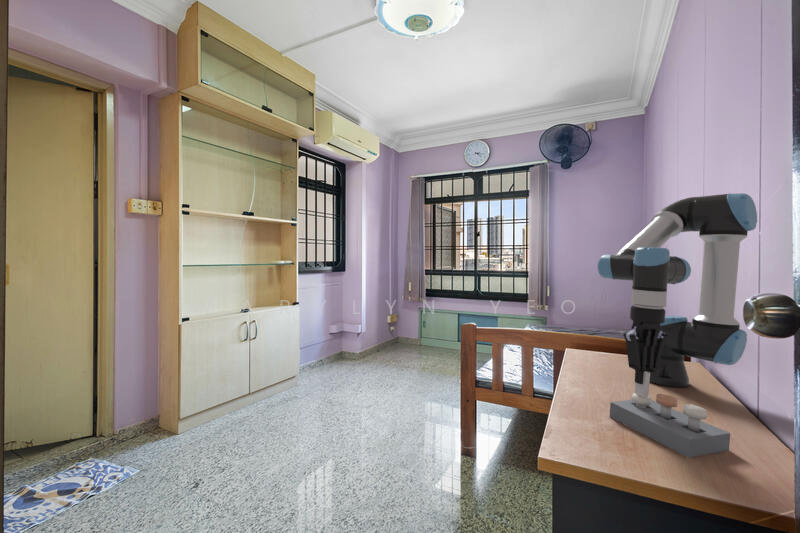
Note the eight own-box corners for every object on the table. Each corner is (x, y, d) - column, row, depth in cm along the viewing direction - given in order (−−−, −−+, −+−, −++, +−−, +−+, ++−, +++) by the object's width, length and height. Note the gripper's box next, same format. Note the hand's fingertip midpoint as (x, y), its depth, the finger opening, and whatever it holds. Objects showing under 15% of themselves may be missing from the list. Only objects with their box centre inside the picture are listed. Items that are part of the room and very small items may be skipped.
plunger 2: (690, 425, 86) (691, 403, 86) (709, 433, 82) (711, 411, 82) (677, 427, 85) (679, 405, 85) (696, 436, 81) (698, 413, 81)
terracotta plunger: (663, 413, 93) (664, 393, 92) (680, 420, 89) (681, 399, 88) (650, 414, 91) (652, 394, 91) (667, 422, 87) (669, 401, 87)
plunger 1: (638, 411, 99) (640, 392, 99) (653, 418, 95) (655, 398, 95) (627, 412, 98) (628, 393, 97) (641, 419, 94) (643, 399, 93)
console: (645, 412, 102) (646, 398, 101) (728, 450, 82) (730, 433, 82) (609, 416, 98) (610, 402, 97) (688, 457, 79) (689, 439, 78)
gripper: (652, 304, 101) (646, 388, 101) (616, 304, 97) (610, 391, 98) (680, 308, 93) (673, 399, 94) (642, 308, 89) (635, 403, 90)
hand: (641, 395), depth 96 cm, fingers closed
